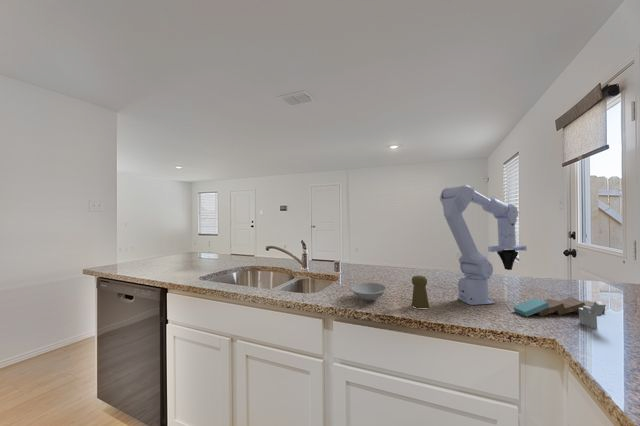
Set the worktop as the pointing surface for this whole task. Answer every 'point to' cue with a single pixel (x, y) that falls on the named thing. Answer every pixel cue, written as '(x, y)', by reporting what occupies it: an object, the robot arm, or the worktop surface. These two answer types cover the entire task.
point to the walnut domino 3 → (589, 304)
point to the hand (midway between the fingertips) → (508, 269)
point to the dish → (368, 290)
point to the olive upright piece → (419, 292)
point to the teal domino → (531, 307)
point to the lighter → (591, 314)
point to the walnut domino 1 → (551, 307)
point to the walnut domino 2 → (570, 305)
